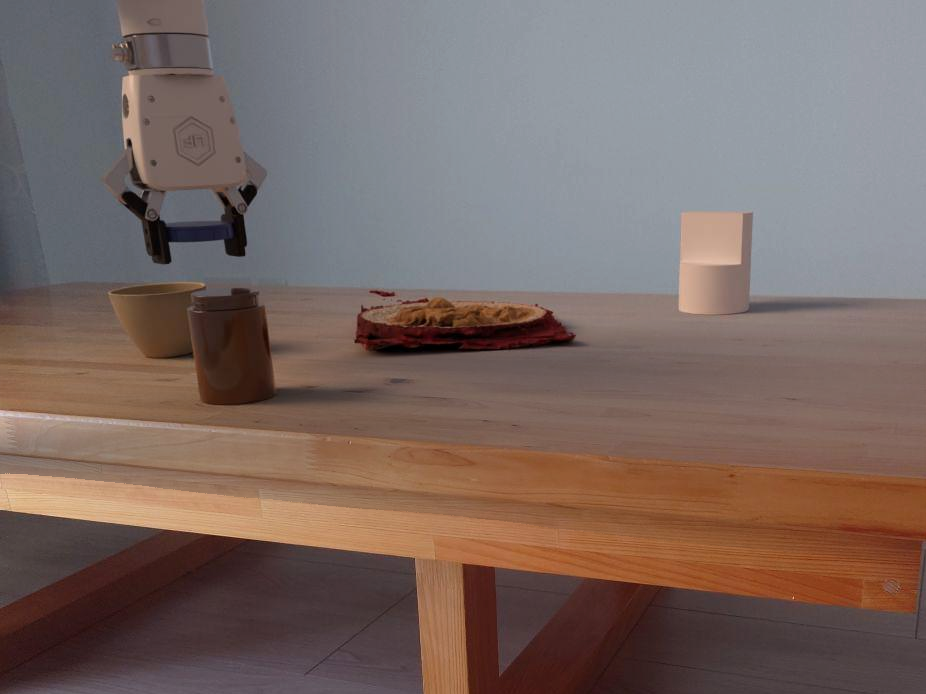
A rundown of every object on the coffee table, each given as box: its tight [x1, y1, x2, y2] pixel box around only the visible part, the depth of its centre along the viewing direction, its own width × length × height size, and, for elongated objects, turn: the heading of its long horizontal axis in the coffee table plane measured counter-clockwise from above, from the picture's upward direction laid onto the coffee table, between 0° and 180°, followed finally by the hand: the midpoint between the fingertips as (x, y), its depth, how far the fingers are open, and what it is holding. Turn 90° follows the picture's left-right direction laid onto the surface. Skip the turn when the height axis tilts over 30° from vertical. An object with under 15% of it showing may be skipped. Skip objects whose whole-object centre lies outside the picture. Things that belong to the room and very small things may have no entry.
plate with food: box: [353, 289, 577, 351], centre depth 119 cm, size 24×26×4 cm
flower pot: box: [107, 281, 207, 359], centre depth 110 cm, size 10×10×7 cm
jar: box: [187, 287, 277, 406], centre depth 89 cm, size 7×7×9 cm
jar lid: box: [165, 220, 234, 243], centre depth 98 cm, size 7×7×1 cm
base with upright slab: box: [678, 210, 754, 316], centre depth 129 cm, size 9×9×12 cm
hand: (199, 258), depth 99 cm, fingers closed on jar lid, 7 cm apart
